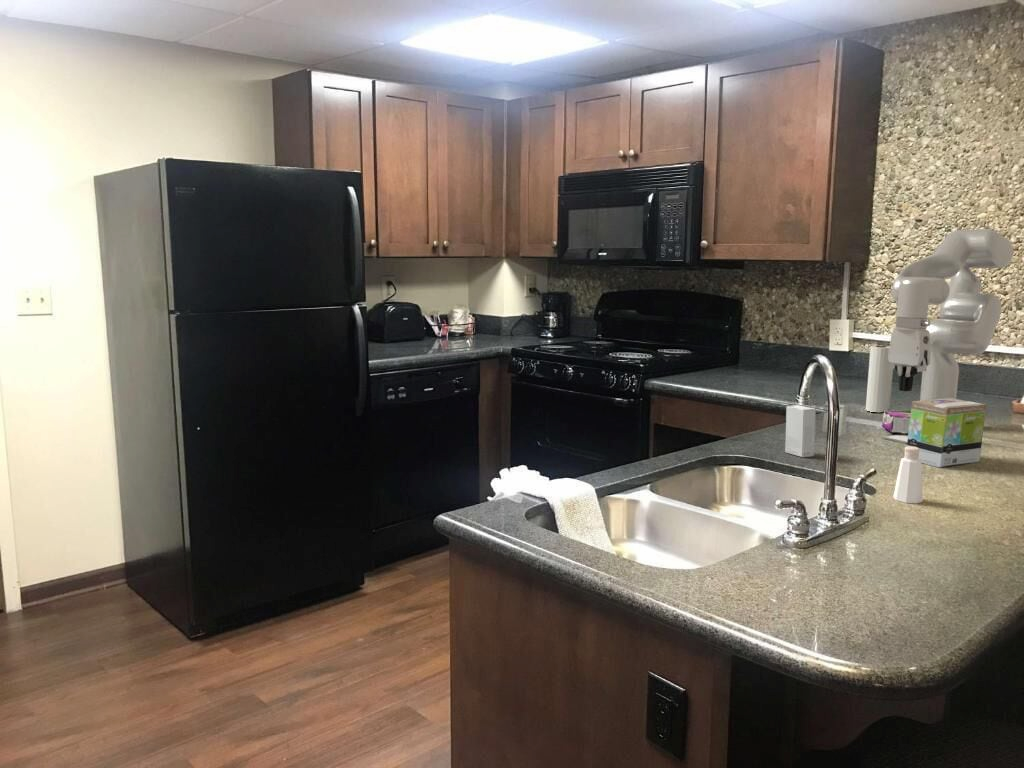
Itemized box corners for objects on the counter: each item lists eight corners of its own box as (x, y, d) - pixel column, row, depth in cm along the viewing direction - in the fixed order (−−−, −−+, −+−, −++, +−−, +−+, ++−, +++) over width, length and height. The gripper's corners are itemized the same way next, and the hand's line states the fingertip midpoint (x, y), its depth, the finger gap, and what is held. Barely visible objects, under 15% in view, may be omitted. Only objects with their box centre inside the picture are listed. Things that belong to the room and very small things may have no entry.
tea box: (941, 468, 193) (947, 407, 191) (904, 459, 202) (909, 400, 200) (981, 462, 200) (987, 402, 198) (943, 453, 209) (949, 396, 207)
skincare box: (814, 456, 204) (818, 408, 202) (801, 458, 202) (804, 409, 200) (796, 450, 209) (799, 404, 208) (783, 452, 208) (786, 405, 206)
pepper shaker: (920, 505, 164) (925, 451, 162) (891, 500, 167) (895, 448, 165) (923, 498, 169) (928, 446, 167) (894, 494, 171) (899, 443, 170)
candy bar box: (883, 409, 238) (943, 415, 235) (881, 426, 239) (941, 432, 236) (893, 415, 227) (957, 420, 224) (891, 433, 228) (954, 438, 225)
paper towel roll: (865, 412, 263) (870, 346, 259) (865, 409, 268) (870, 344, 265) (890, 414, 260) (895, 347, 257) (889, 411, 266) (894, 346, 262)
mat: (911, 434, 231) (912, 432, 231) (966, 445, 218) (966, 443, 218) (881, 438, 225) (882, 436, 225) (936, 450, 211) (936, 448, 211)
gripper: (945, 325, 218) (939, 393, 221) (895, 321, 231) (890, 385, 233) (927, 326, 214) (921, 395, 217) (878, 322, 227) (872, 387, 230)
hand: (905, 390), depth 225 cm, fingers closed
